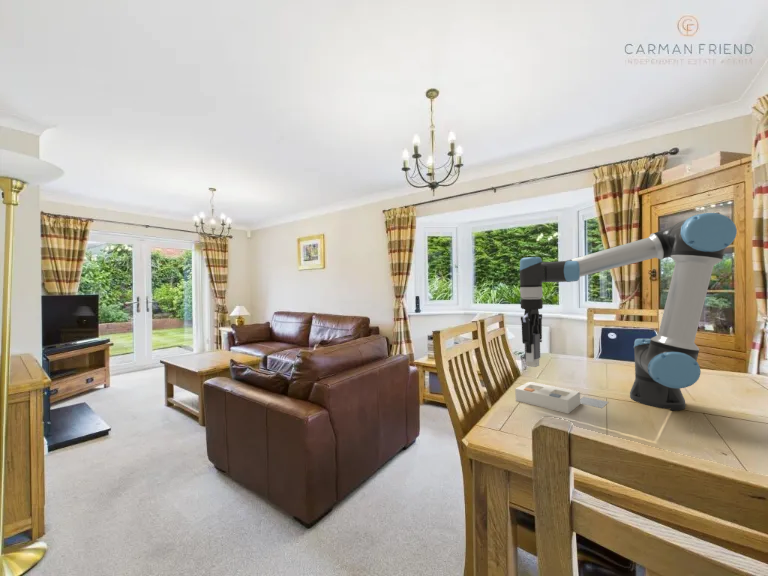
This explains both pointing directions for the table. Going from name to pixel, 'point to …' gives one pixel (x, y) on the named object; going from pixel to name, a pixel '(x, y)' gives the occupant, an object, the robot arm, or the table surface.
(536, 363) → the grey tall block
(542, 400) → the socket block
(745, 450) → the table surface
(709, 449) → the table surface
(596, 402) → the mat
